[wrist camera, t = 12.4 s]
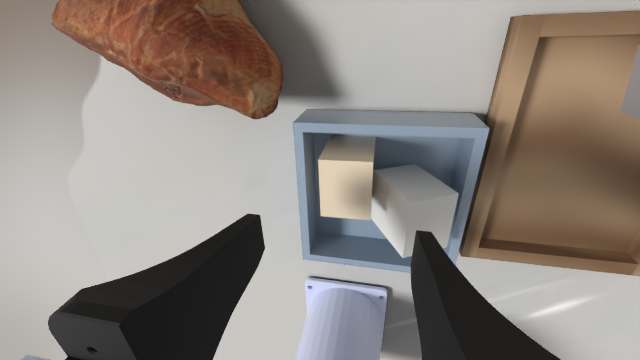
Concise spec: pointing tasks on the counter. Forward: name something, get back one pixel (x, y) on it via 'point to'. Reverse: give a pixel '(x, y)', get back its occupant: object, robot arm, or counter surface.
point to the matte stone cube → (633, 90)
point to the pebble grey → (411, 206)
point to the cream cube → (347, 177)
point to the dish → (390, 151)
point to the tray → (561, 148)
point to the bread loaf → (181, 49)
